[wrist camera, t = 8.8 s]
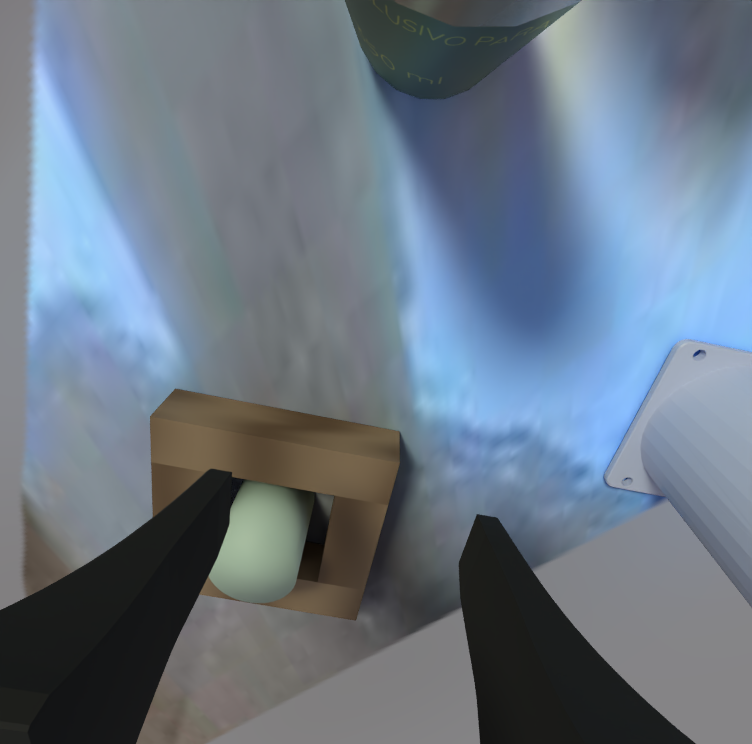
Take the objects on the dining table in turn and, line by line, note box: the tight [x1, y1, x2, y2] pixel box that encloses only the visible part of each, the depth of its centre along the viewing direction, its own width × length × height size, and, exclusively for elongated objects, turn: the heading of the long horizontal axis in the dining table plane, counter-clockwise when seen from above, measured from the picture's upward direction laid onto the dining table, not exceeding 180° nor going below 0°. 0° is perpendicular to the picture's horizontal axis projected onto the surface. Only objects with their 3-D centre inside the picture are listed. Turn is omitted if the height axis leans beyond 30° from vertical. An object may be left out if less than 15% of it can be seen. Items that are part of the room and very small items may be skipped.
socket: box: [150, 389, 400, 620], centre depth 23 cm, size 11×11×2 cm
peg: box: [209, 479, 315, 603], centre depth 22 cm, size 4×4×5 cm
